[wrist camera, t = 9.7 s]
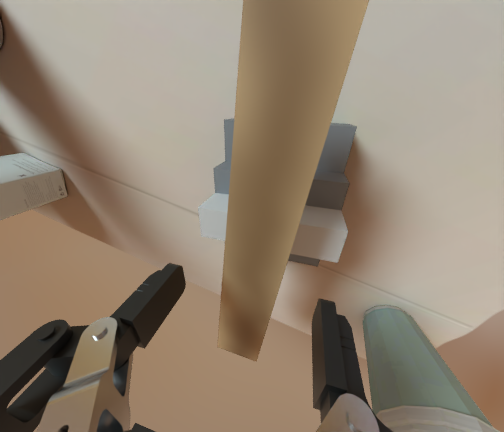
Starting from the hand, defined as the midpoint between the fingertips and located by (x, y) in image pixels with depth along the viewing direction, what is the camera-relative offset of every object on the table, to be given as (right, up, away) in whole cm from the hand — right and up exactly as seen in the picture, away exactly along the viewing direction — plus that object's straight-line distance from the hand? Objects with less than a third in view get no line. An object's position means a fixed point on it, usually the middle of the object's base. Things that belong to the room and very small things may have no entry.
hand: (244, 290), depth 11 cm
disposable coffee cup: (+22, -12, +19) cm, 31 cm away
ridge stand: (+4, +8, +14) cm, 16 cm away
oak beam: (+2, +3, +5) cm, 6 cm away
